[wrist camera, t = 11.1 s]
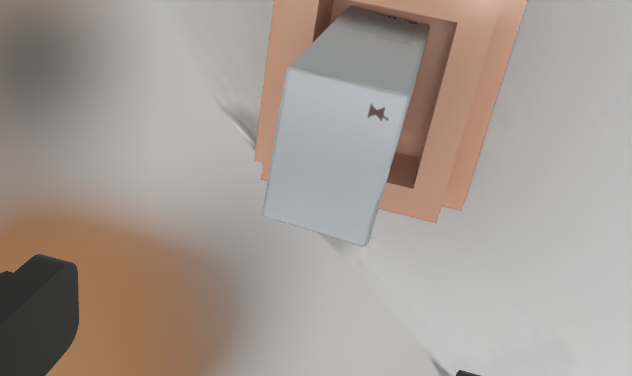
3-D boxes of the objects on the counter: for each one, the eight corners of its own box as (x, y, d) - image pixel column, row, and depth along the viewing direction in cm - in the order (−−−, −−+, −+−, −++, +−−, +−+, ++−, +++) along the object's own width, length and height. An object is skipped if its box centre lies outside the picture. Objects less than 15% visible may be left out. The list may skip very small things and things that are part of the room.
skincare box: (347, 2, 30) (285, 59, 19) (431, 23, 29) (416, 93, 19) (323, 115, 33) (257, 219, 22) (399, 136, 32) (369, 251, 22)
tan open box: (259, 153, 36) (231, 189, 31) (290, -85, 30) (260, -82, 25) (461, 202, 34) (461, 247, 30) (536, -38, 28) (550, -26, 24)
